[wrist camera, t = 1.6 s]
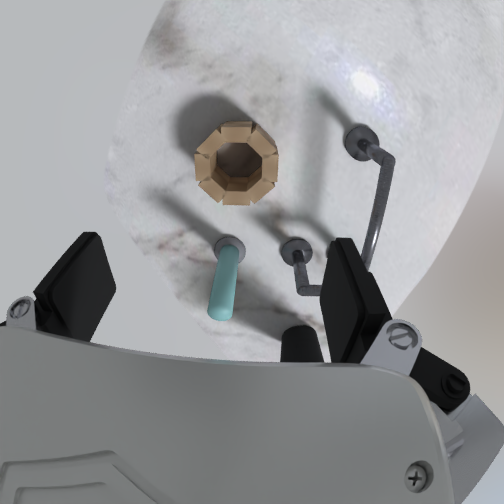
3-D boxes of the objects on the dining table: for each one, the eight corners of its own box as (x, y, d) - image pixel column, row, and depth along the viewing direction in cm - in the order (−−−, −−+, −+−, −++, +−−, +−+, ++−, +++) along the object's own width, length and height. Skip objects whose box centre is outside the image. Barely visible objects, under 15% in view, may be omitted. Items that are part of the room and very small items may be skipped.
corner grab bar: (291, 118, 22) (301, 130, 16) (379, 129, 22) (413, 146, 16) (280, 263, 30) (284, 306, 25) (352, 265, 30) (368, 306, 25)
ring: (202, 122, 22) (193, 128, 19) (277, 122, 22) (279, 128, 19) (205, 188, 26) (197, 204, 23) (273, 190, 26) (275, 206, 23)
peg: (214, 236, 28) (197, 297, 21) (245, 237, 28) (239, 299, 21) (215, 261, 30) (202, 324, 23) (245, 262, 30) (240, 326, 23)
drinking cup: (260, 339, 38) (256, 481, 21) (298, 310, 34) (313, 470, 18) (299, 358, 40) (307, 484, 23) (337, 332, 37) (361, 470, 20)
